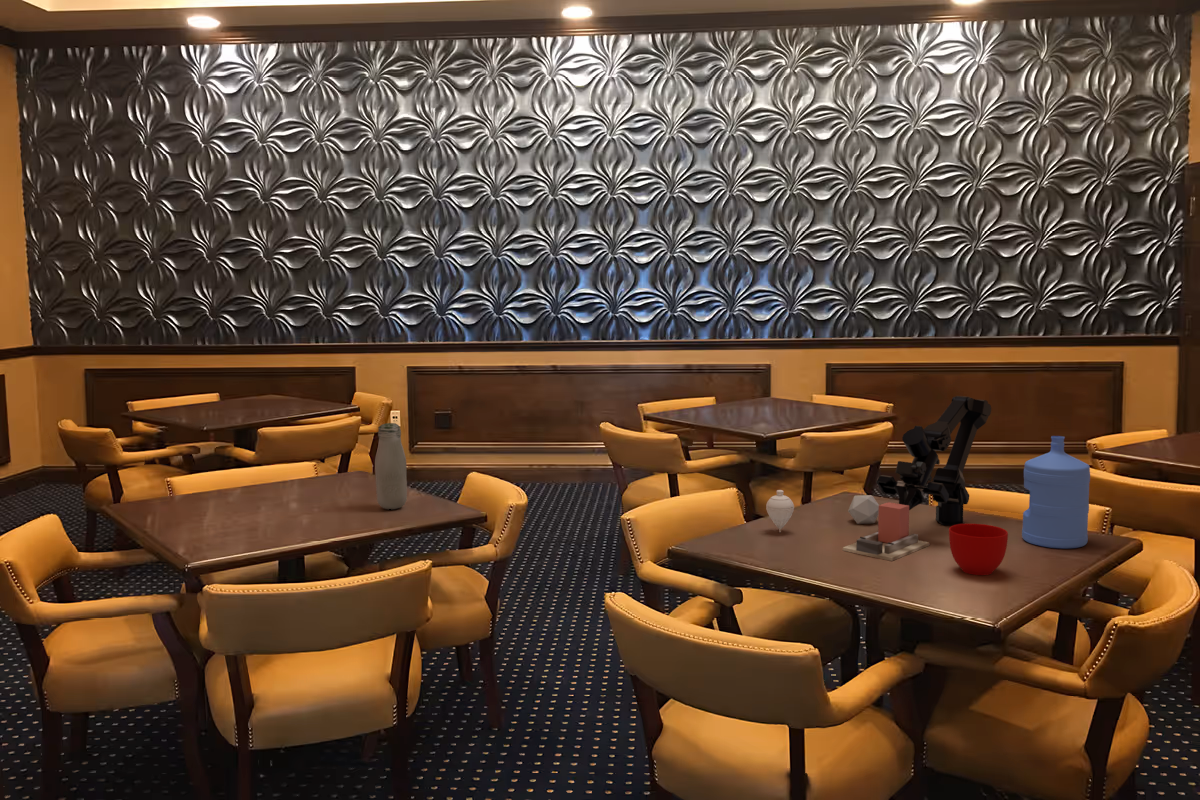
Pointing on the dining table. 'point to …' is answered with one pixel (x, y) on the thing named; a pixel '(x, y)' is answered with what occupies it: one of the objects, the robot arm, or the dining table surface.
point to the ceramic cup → (978, 547)
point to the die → (864, 509)
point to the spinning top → (780, 509)
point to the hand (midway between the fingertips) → (900, 514)
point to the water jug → (1056, 499)
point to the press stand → (886, 547)
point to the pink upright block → (893, 522)
